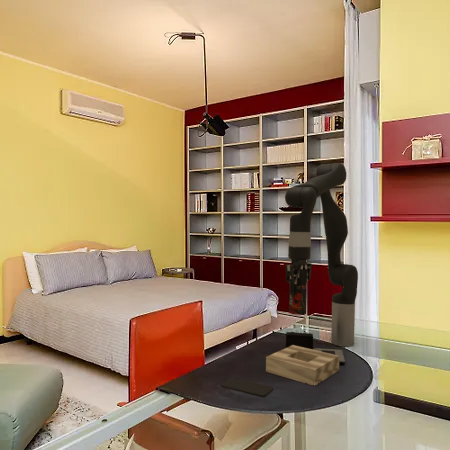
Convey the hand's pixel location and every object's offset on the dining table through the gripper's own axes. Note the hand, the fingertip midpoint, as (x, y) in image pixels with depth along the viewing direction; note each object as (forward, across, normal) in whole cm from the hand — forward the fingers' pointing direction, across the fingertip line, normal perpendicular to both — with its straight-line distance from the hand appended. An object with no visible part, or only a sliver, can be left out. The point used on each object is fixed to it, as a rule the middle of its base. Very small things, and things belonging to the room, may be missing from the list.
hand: (298, 293), depth 143 cm
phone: (+26, +25, -3) cm, 36 cm away
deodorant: (+7, 0, 0) cm, 7 cm away
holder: (+26, +1, +3) cm, 26 cm away
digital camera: (+26, -18, -9) cm, 33 cm away
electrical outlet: (+26, -18, +3) cm, 32 cm away
